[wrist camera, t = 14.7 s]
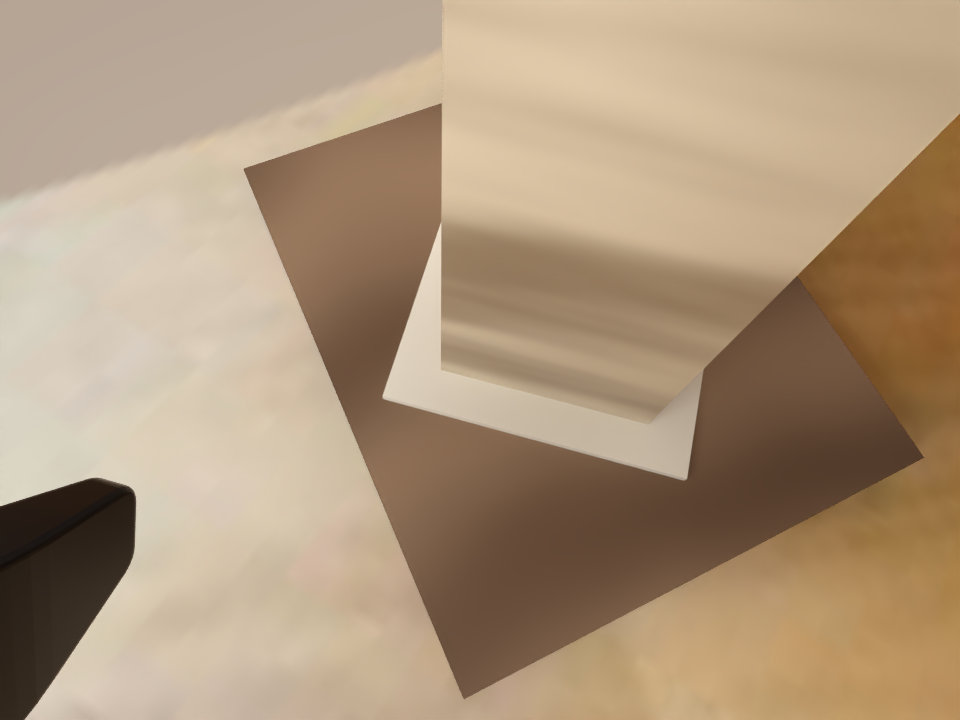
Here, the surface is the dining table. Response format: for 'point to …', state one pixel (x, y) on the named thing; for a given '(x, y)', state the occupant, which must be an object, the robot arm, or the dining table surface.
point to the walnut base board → (550, 423)
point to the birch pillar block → (661, 174)
